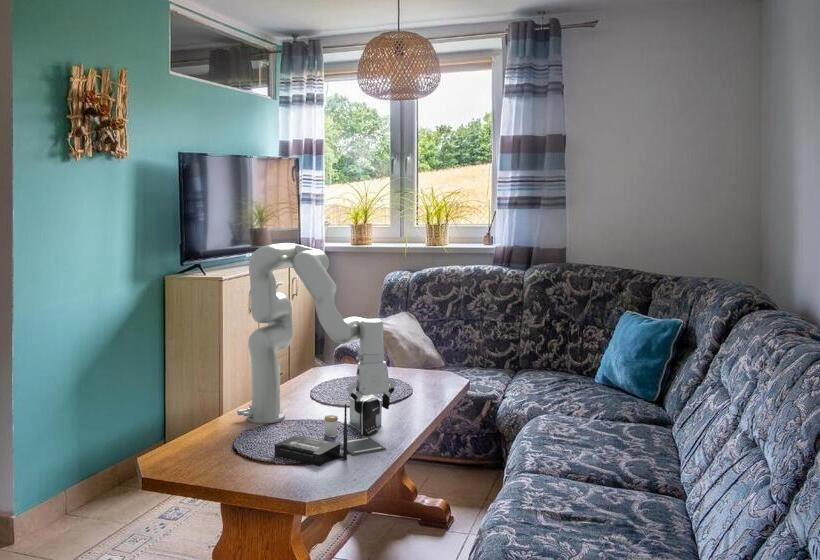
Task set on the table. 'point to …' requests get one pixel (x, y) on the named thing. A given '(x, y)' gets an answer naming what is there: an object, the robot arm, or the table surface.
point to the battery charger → (369, 416)
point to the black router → (312, 448)
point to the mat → (362, 446)
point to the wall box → (356, 416)
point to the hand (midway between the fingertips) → (372, 410)
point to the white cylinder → (331, 425)
